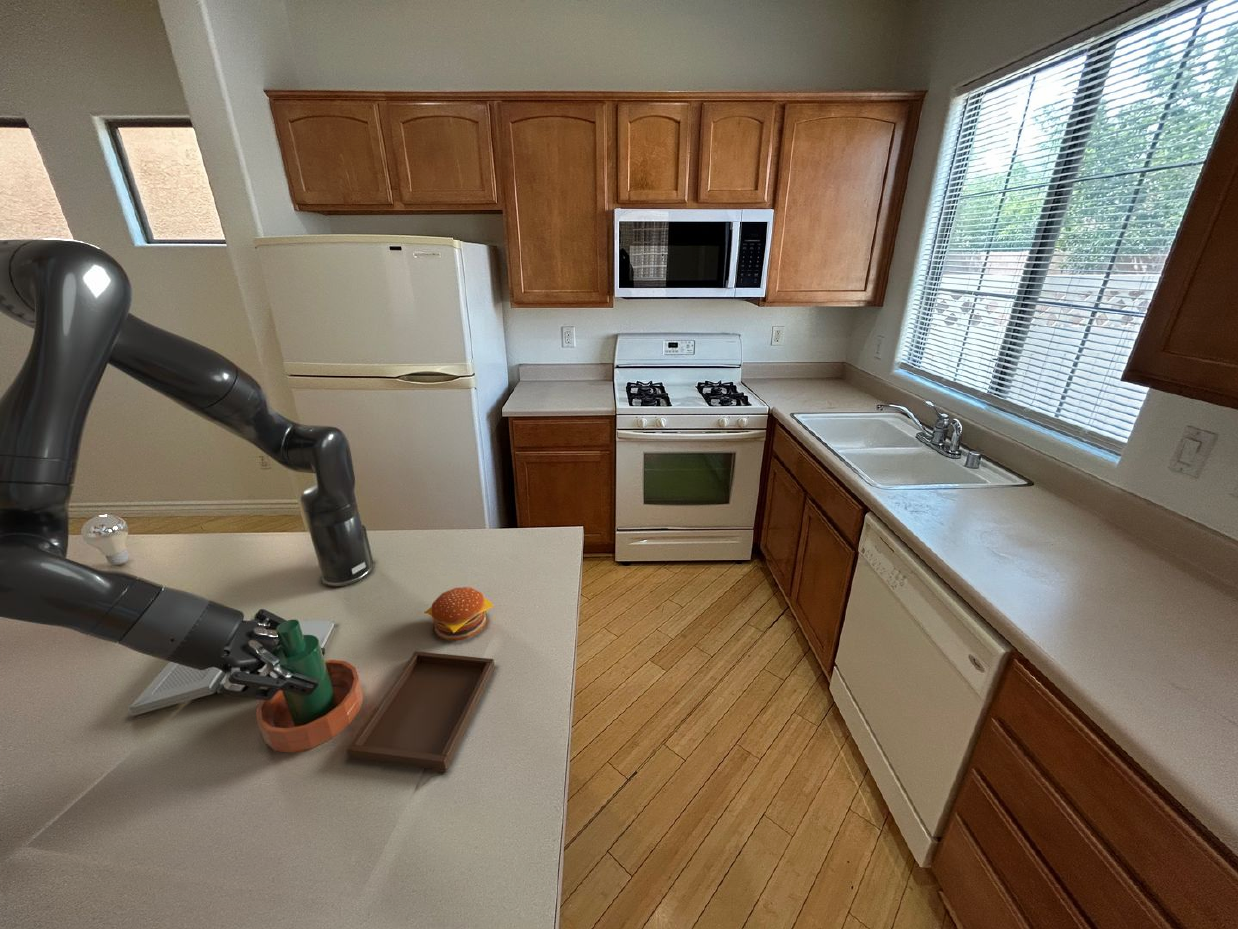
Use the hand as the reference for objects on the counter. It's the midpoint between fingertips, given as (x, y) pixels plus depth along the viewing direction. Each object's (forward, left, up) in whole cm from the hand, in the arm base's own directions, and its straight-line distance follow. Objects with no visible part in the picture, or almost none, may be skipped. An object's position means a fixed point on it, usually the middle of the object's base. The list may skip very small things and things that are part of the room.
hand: (317, 671), depth 67 cm
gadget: (-6, -20, -8) cm, 22 cm away
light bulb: (-29, -72, -8) cm, 78 cm away
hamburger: (-20, +11, -8) cm, 25 cm away
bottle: (+1, -2, -7) cm, 7 cm away
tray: (-2, +14, -8) cm, 17 cm away
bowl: (+1, -2, -8) cm, 8 cm away
